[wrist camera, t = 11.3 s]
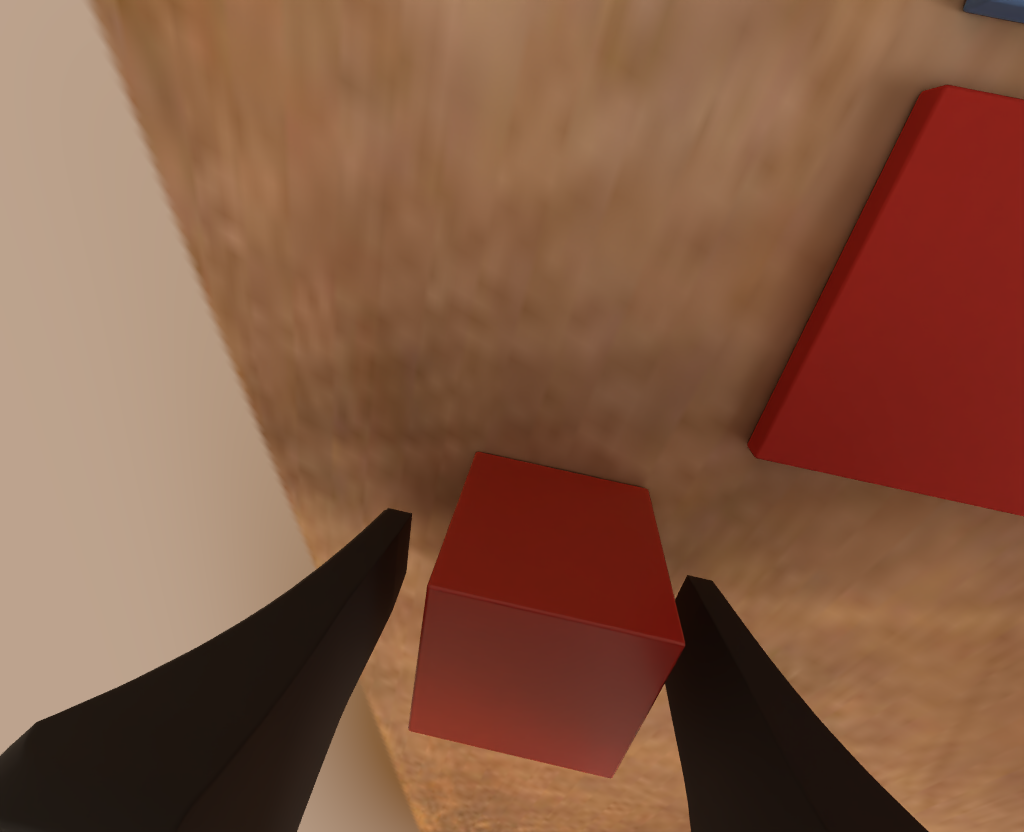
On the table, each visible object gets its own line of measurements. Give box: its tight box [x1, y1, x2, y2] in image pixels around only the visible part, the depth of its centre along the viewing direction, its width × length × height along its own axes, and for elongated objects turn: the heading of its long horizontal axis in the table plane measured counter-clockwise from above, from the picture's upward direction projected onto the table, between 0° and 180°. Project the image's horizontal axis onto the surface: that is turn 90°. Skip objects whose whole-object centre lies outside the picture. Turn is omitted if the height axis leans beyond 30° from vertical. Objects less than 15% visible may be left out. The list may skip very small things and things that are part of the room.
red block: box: [408, 452, 685, 778], centre depth 11 cm, size 4×4×4 cm
